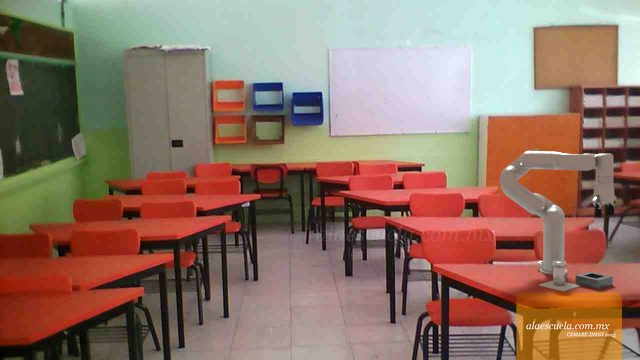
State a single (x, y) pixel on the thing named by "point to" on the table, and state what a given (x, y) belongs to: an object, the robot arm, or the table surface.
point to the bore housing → (594, 280)
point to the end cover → (559, 272)
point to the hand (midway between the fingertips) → (604, 216)
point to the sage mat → (560, 288)
